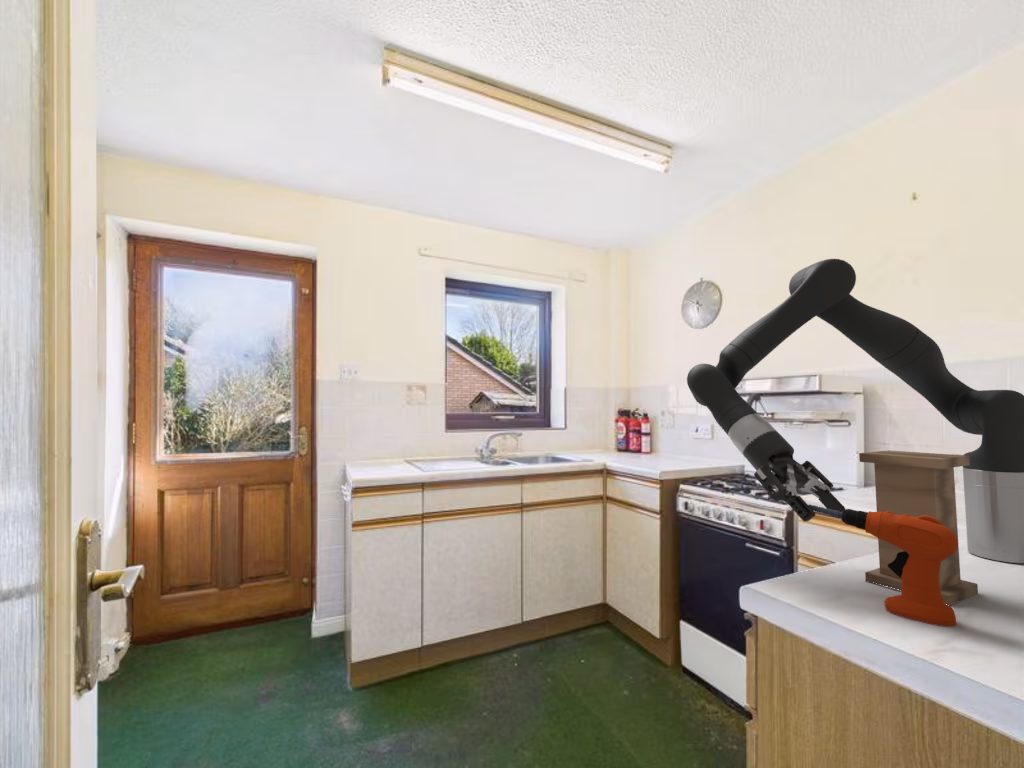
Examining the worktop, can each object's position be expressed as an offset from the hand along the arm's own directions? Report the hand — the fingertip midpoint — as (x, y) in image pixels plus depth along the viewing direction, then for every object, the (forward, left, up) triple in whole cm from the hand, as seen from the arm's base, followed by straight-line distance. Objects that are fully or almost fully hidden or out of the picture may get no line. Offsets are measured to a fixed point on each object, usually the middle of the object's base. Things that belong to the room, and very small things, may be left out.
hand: (826, 515), depth 75 cm
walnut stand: (-14, +6, -12) cm, 19 cm away
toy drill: (0, +7, -12) cm, 14 cm away
